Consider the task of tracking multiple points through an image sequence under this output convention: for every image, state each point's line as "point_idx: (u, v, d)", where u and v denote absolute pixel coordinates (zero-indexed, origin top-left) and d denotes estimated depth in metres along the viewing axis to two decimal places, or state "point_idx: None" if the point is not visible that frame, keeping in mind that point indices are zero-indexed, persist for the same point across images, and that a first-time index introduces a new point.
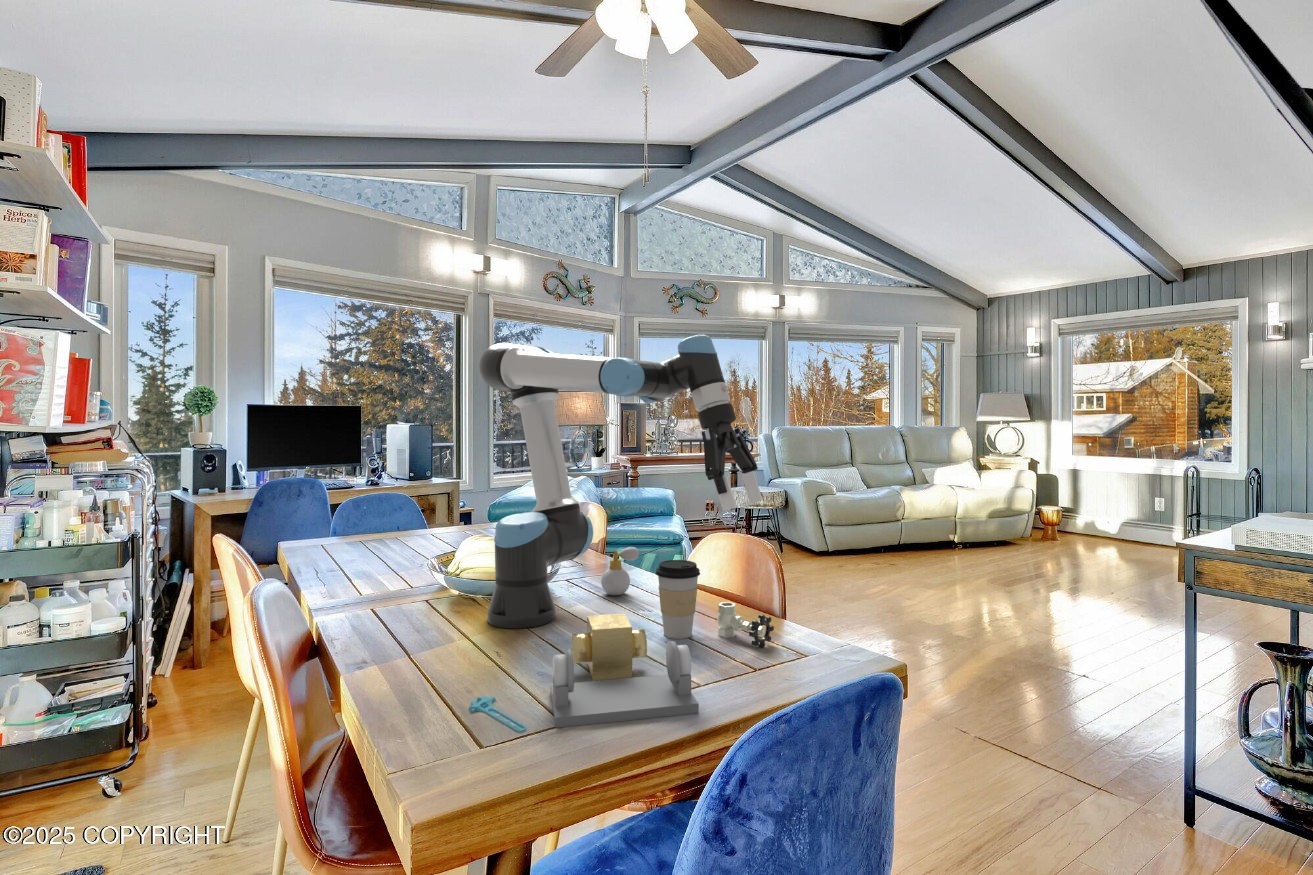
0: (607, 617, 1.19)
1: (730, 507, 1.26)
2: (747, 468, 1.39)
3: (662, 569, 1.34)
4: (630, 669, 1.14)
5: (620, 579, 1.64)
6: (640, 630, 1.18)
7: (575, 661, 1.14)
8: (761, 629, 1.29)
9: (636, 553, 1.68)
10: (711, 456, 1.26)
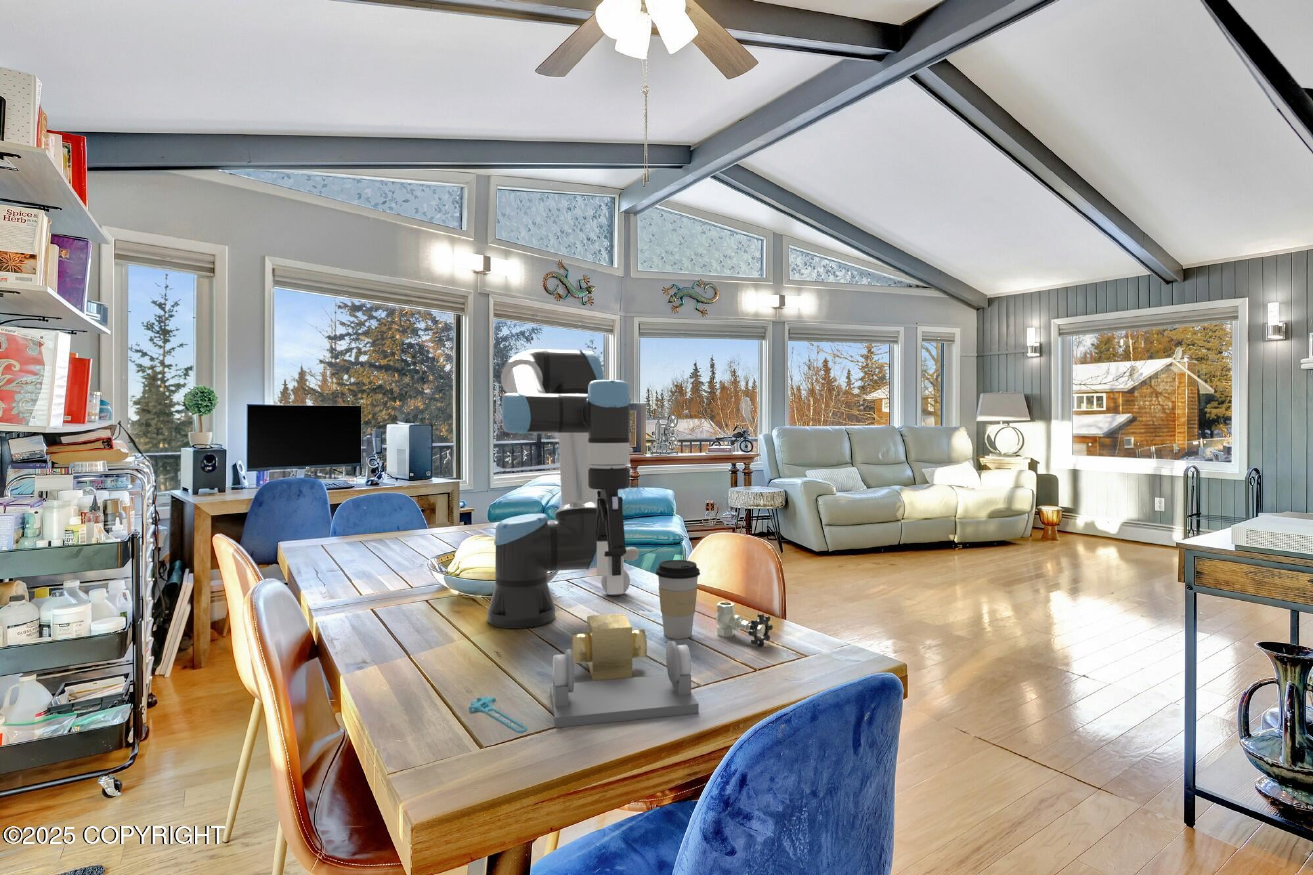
0: (607, 617, 1.19)
1: (618, 591, 1.10)
2: (604, 536, 1.23)
3: (662, 569, 1.34)
4: (630, 669, 1.14)
5: None
6: (640, 630, 1.18)
7: (575, 661, 1.14)
8: (760, 628, 1.29)
9: (636, 553, 1.68)
10: (619, 531, 1.08)
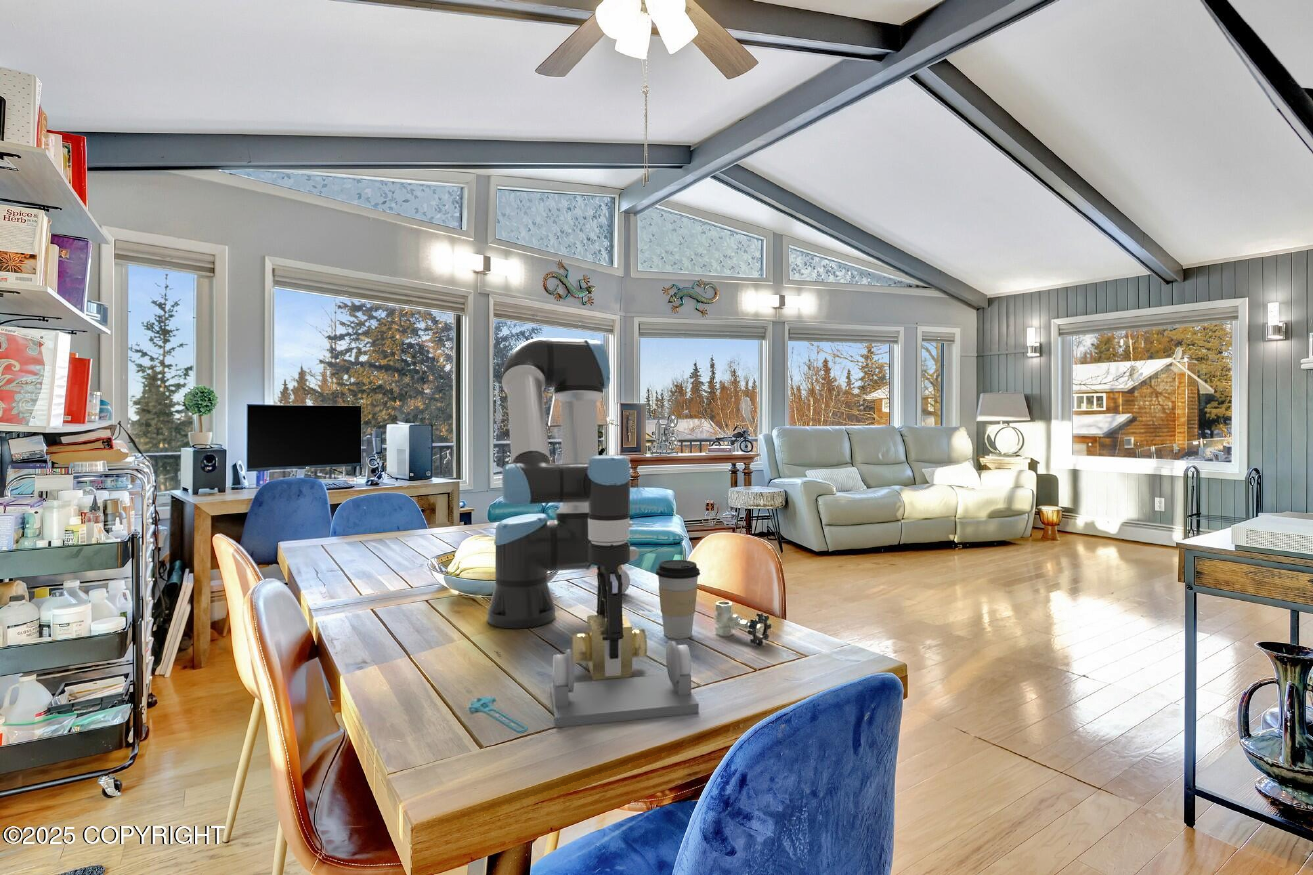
0: None
1: (615, 673, 1.13)
2: None
3: (662, 569, 1.34)
4: (630, 669, 1.14)
5: None
6: (640, 630, 1.18)
7: (575, 661, 1.14)
8: (759, 627, 1.30)
9: (636, 553, 1.68)
10: (617, 617, 1.10)
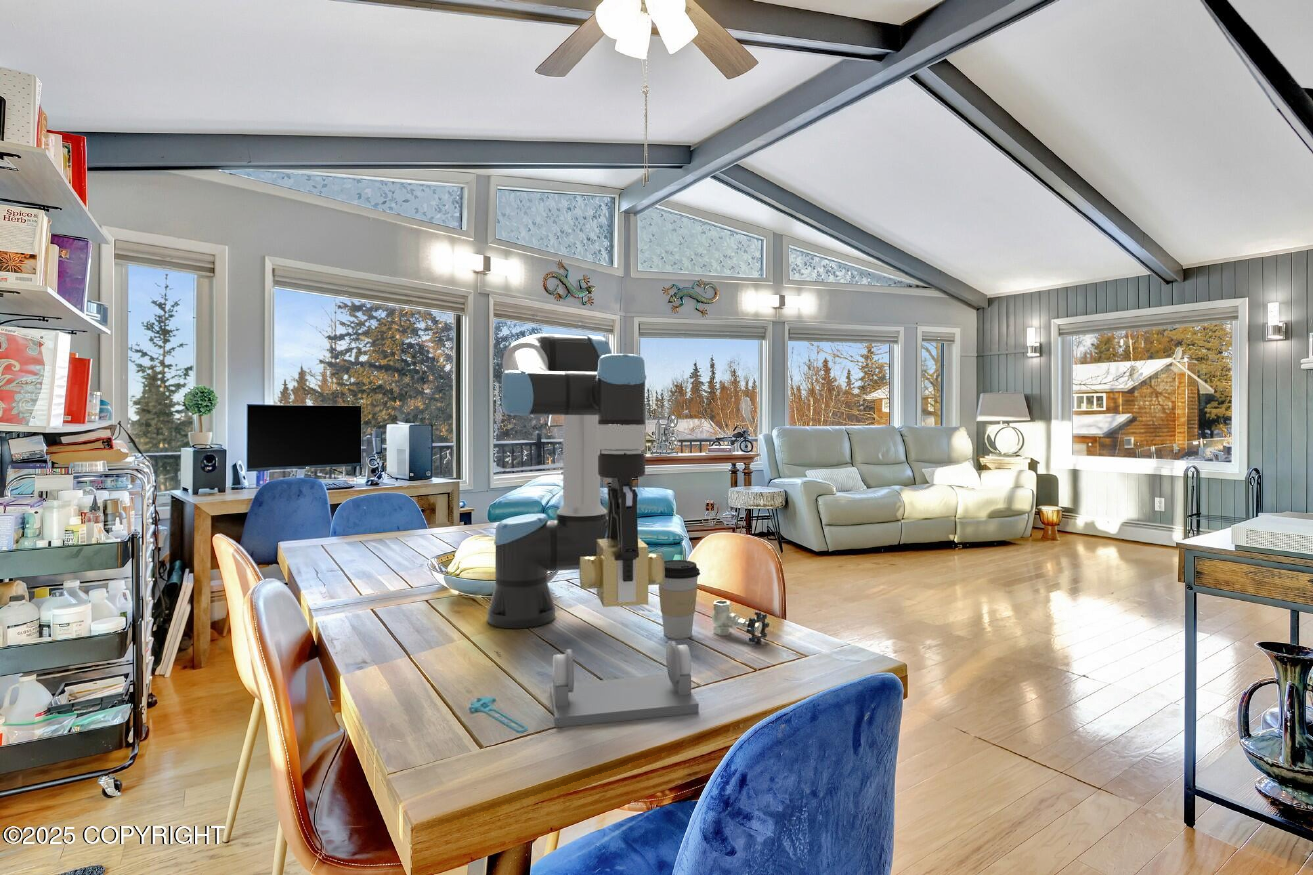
0: None
1: (629, 599, 0.99)
2: None
3: None
4: (646, 595, 1.00)
5: None
6: (657, 554, 1.04)
7: (583, 586, 1.00)
8: (758, 626, 1.31)
9: None
10: (632, 532, 0.96)
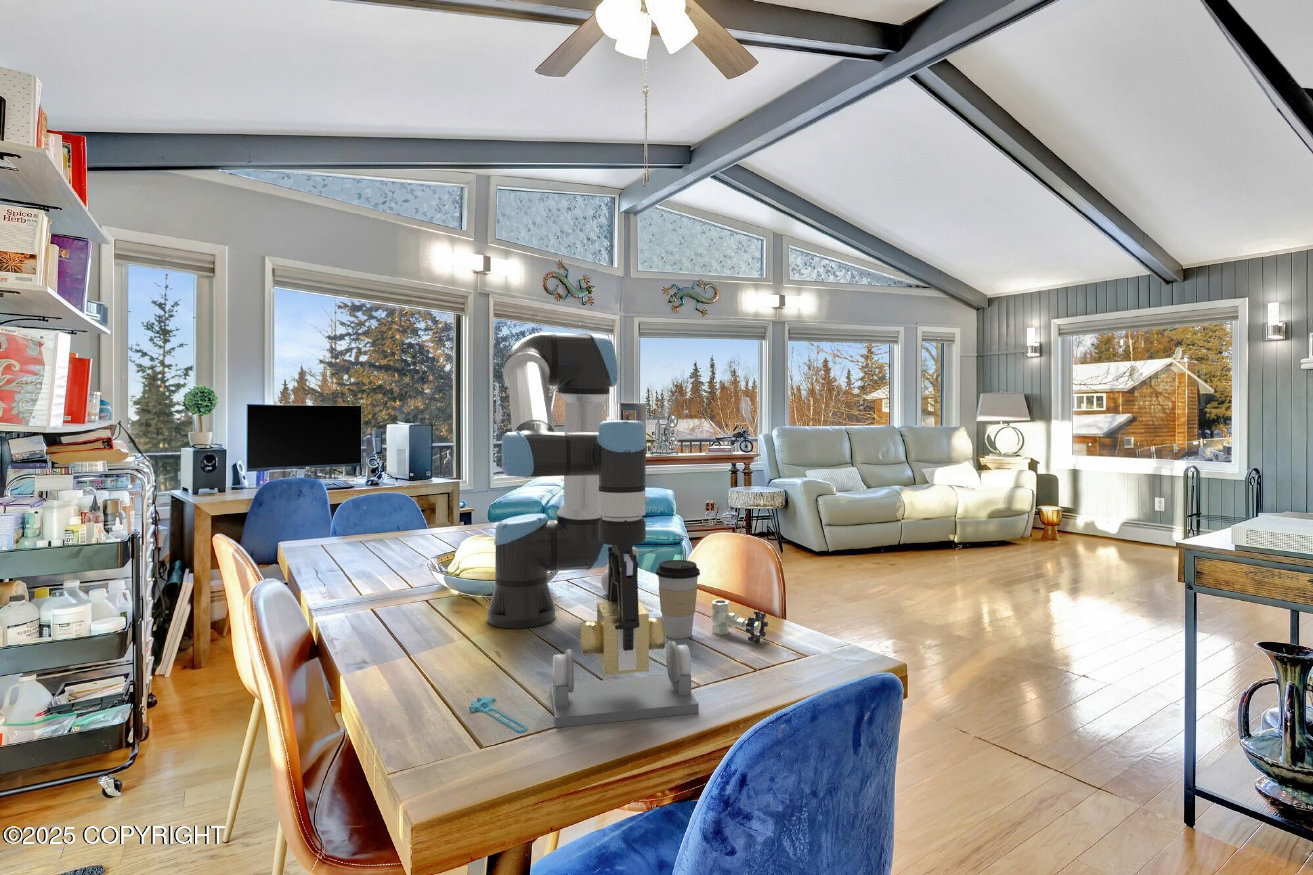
0: None
1: (630, 667, 0.99)
2: None
3: (662, 569, 1.34)
4: (646, 662, 1.00)
5: None
6: (657, 618, 1.04)
7: (584, 653, 1.00)
8: (757, 625, 1.31)
9: (636, 553, 1.68)
10: (632, 602, 0.96)
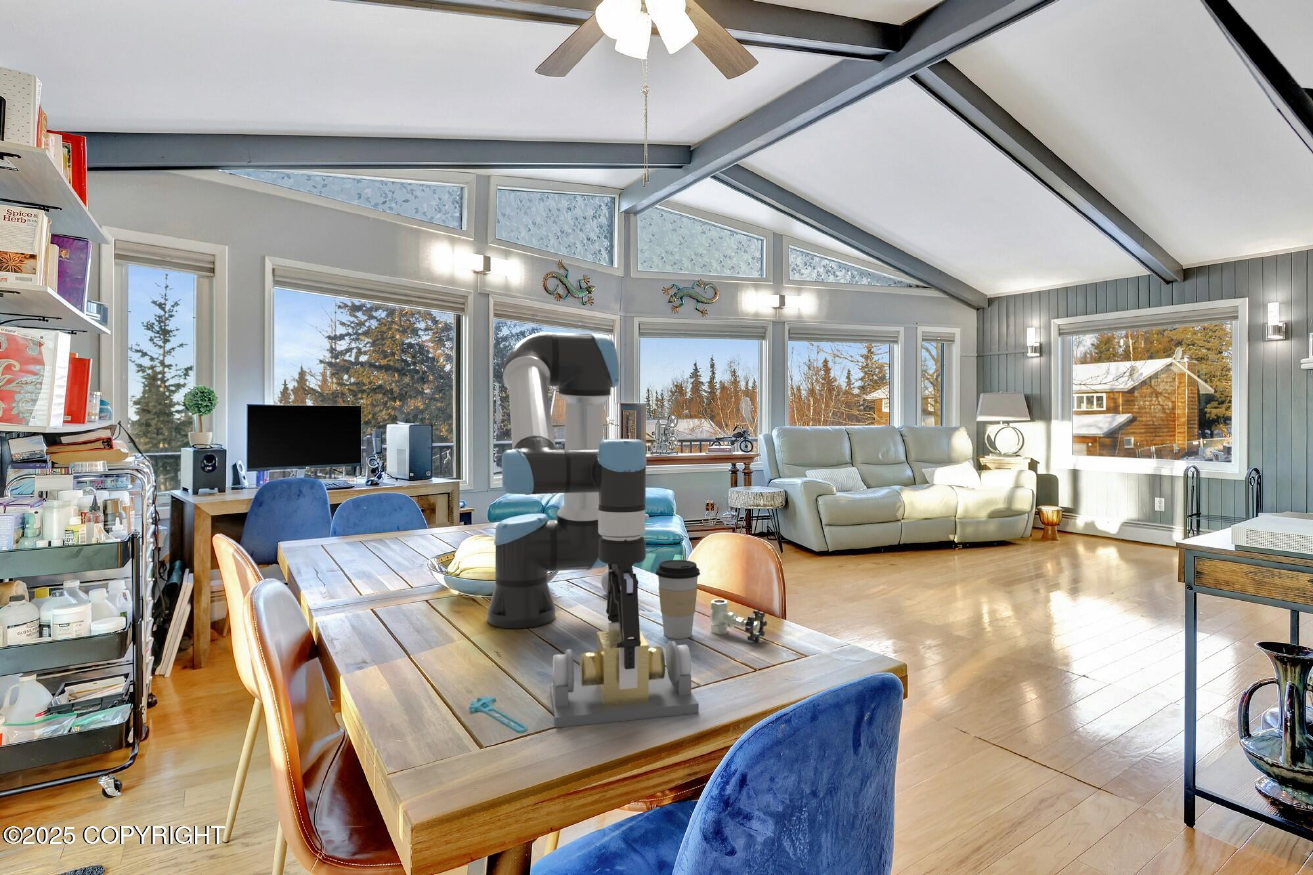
0: (619, 633, 1.05)
1: (631, 686, 0.98)
2: (616, 616, 1.09)
3: (662, 569, 1.34)
4: (646, 693, 1.00)
5: None
6: (657, 648, 1.04)
7: (584, 684, 1.00)
8: (756, 624, 1.32)
9: None
10: (633, 620, 0.95)
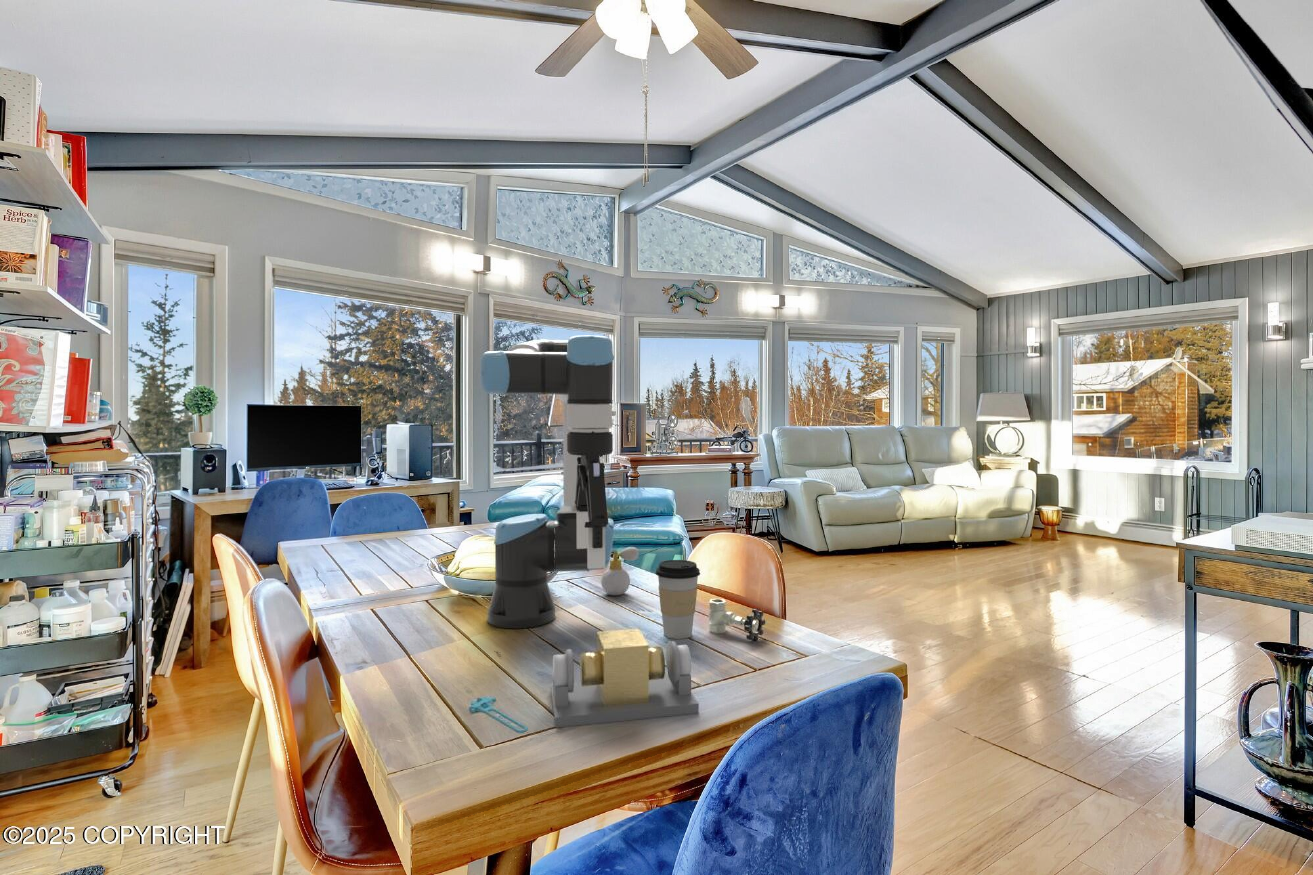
0: (619, 633, 1.05)
1: (599, 565, 1.01)
2: (584, 506, 1.14)
3: (662, 569, 1.34)
4: (646, 693, 1.00)
5: (620, 579, 1.64)
6: (657, 648, 1.04)
7: (584, 684, 1.00)
8: (755, 623, 1.32)
9: (636, 553, 1.68)
10: (600, 500, 0.99)
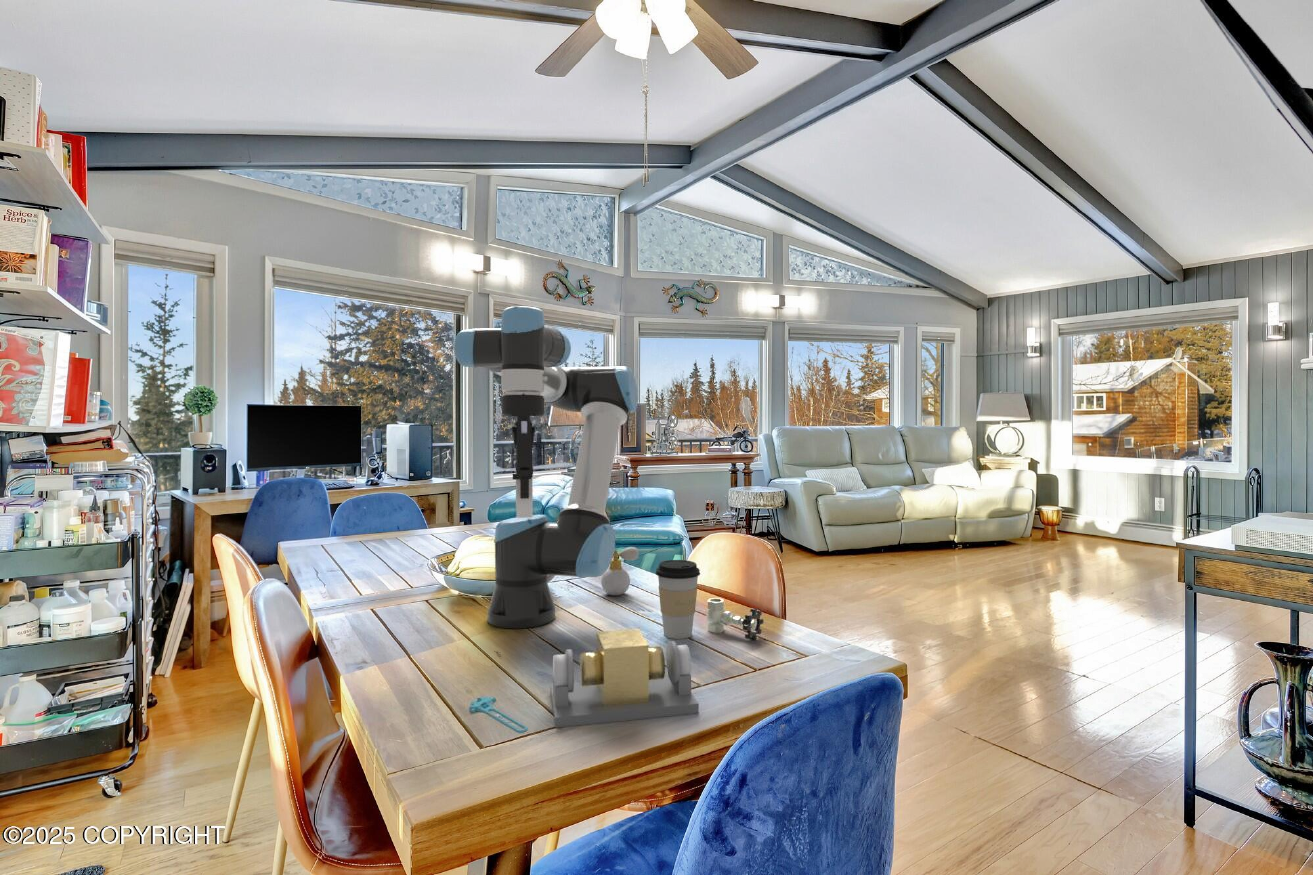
0: (619, 633, 1.05)
1: (527, 515, 1.10)
2: None
3: (662, 569, 1.34)
4: (646, 693, 1.00)
5: (620, 579, 1.64)
6: (657, 648, 1.04)
7: (584, 684, 1.00)
8: (753, 622, 1.33)
9: (636, 553, 1.68)
10: (526, 454, 1.08)
